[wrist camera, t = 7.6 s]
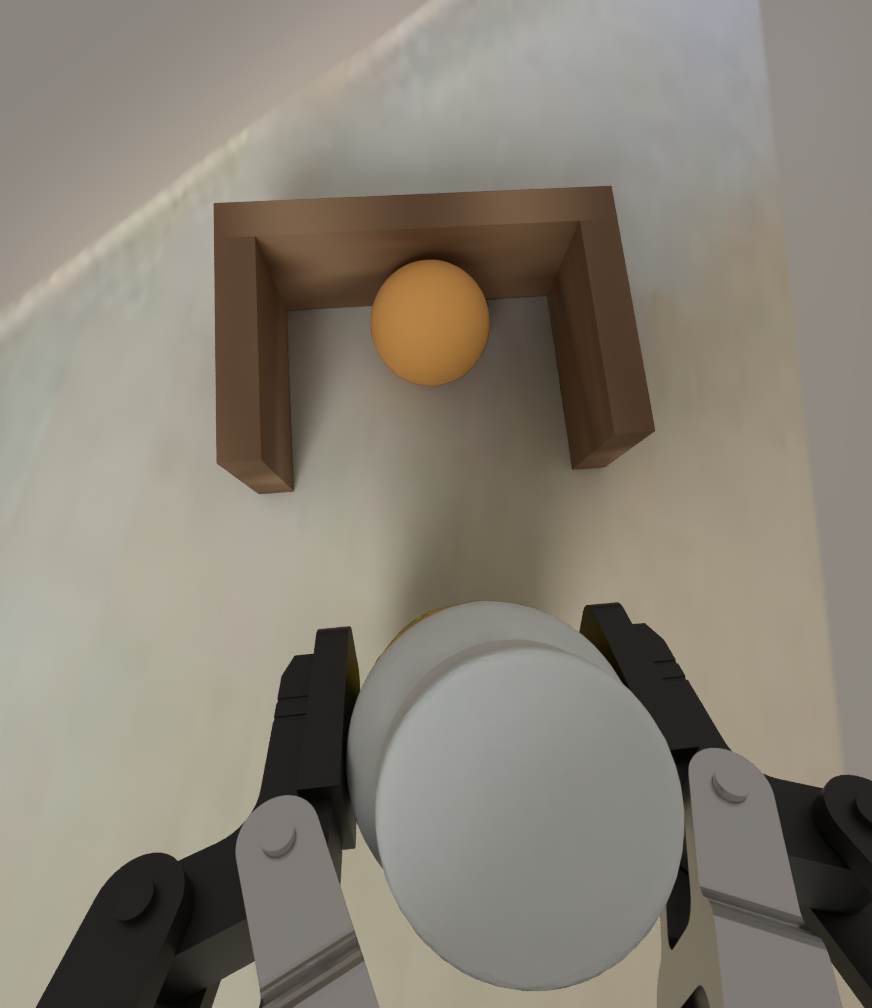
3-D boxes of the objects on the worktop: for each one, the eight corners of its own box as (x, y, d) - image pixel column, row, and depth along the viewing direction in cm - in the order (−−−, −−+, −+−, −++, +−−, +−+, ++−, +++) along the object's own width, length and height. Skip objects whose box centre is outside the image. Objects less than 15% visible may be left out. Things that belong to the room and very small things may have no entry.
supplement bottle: (383, 803, 15) (333, 1113, 6) (363, 617, 16) (294, 625, 7) (562, 774, 16) (788, 1021, 6) (531, 594, 17) (684, 570, 7)
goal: (259, 493, 18) (216, 463, 14) (253, 283, 20) (213, 203, 16) (604, 467, 19) (655, 430, 15) (573, 266, 20) (611, 185, 17)
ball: (365, 311, 20) (370, 406, 18) (370, 226, 16) (377, 338, 15) (468, 314, 20) (479, 406, 19) (496, 234, 17) (512, 342, 15)
